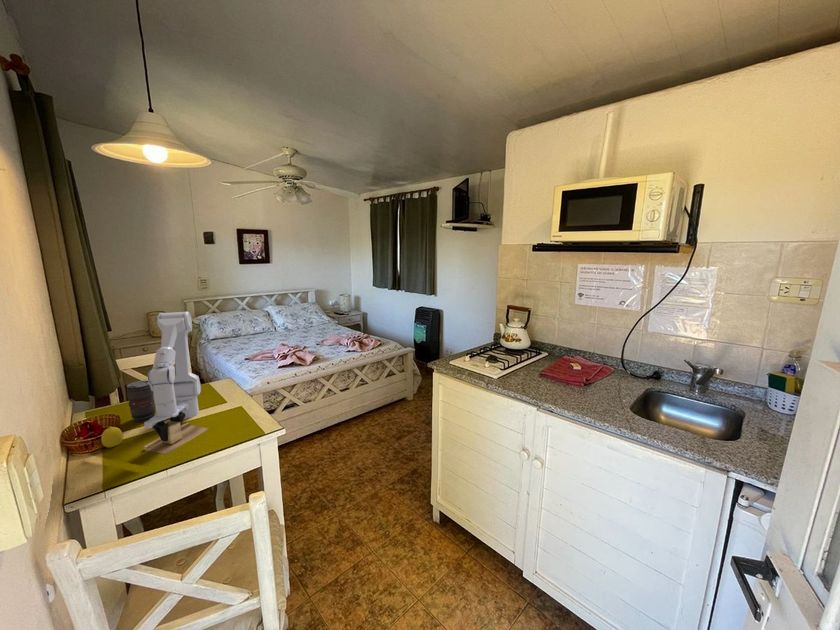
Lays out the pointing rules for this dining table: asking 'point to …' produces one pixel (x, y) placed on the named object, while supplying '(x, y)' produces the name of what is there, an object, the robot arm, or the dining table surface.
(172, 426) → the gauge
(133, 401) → the camera lens
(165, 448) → the board
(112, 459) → the dining table surface
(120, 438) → the lemon
